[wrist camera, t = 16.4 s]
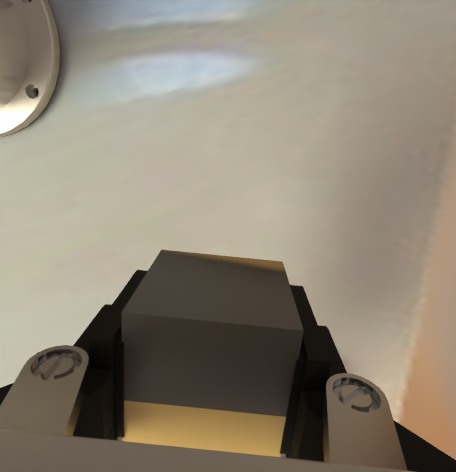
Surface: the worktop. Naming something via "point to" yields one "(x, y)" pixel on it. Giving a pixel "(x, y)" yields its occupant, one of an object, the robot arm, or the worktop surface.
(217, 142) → the worktop surface
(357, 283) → the worktop surface
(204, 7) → the worktop surface
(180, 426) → the yellow rectangular block
